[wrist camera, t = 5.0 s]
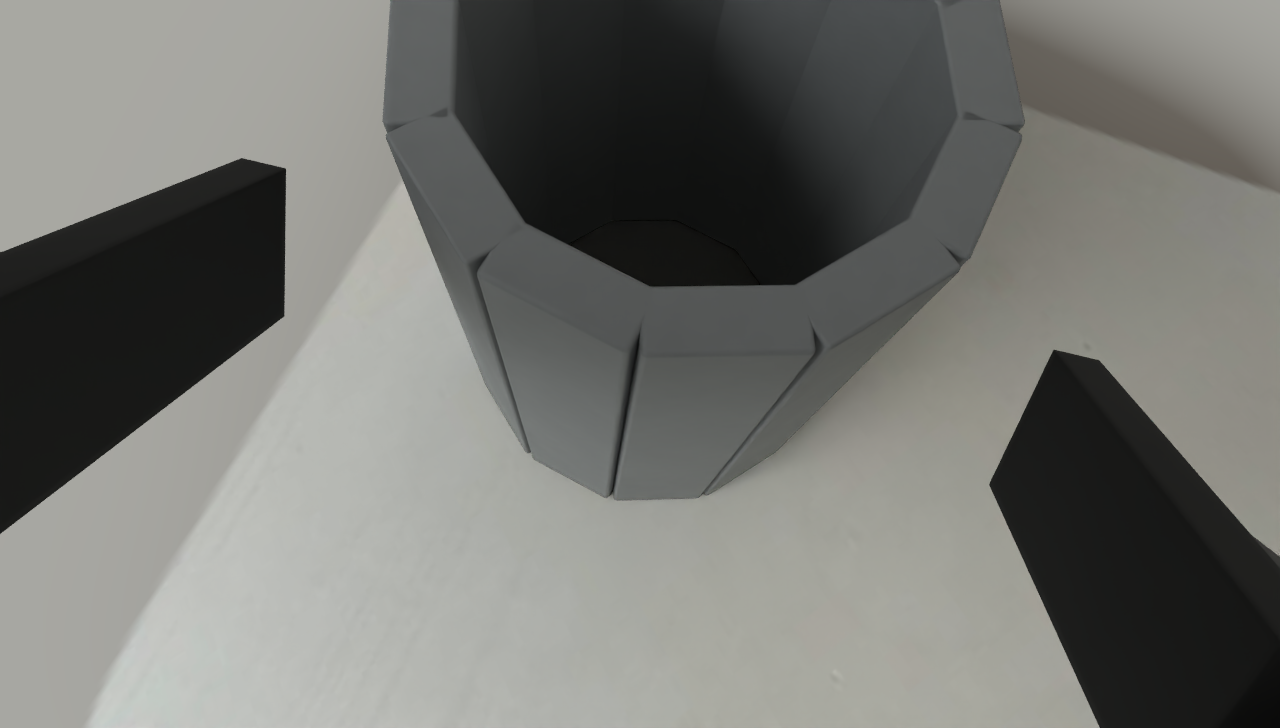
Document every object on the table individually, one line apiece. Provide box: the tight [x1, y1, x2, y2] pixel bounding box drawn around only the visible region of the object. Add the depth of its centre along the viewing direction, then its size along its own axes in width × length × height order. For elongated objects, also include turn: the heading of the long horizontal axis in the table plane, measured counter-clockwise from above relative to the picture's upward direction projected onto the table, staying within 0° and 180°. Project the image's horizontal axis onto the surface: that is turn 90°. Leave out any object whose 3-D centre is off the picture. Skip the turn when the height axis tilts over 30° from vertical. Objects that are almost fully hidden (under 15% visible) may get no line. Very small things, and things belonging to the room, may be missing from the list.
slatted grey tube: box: [383, 0, 1025, 500], centre depth 18 cm, size 9×9×12 cm
